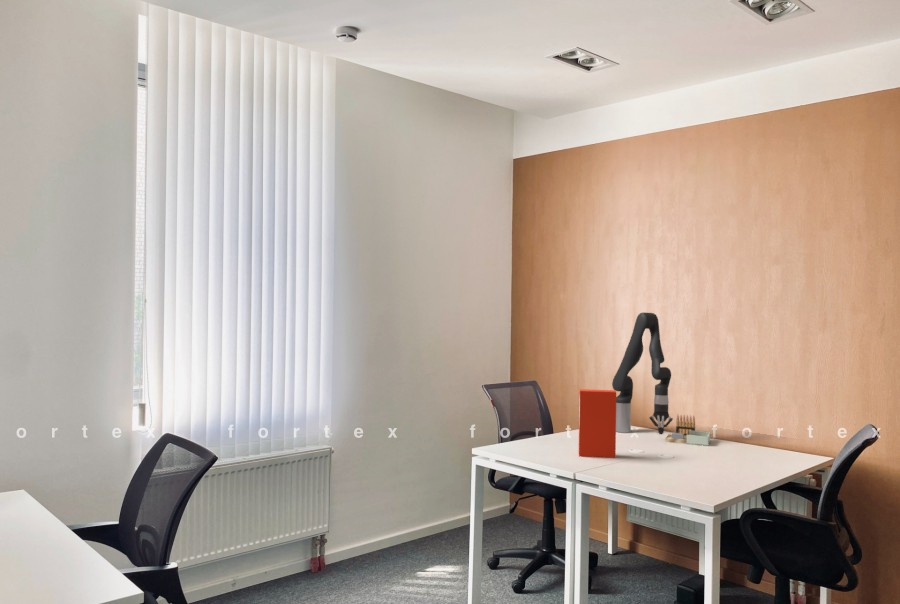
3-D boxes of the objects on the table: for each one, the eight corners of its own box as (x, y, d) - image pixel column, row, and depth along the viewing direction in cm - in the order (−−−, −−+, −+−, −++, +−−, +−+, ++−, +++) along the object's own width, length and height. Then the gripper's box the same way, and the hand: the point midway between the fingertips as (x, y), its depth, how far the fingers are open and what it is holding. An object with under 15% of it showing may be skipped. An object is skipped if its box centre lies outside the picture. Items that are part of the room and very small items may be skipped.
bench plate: (665, 441, 365) (665, 438, 365) (668, 437, 378) (668, 434, 378) (686, 443, 360) (686, 440, 360) (689, 439, 373) (689, 435, 373)
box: (686, 444, 359) (686, 434, 360) (689, 439, 374) (689, 430, 374) (708, 446, 355) (708, 436, 355) (710, 441, 369) (710, 432, 369)
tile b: (671, 438, 365) (671, 433, 365) (672, 436, 369) (672, 432, 369) (683, 439, 362) (683, 434, 362) (683, 437, 367) (683, 433, 367)
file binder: (615, 458, 320) (616, 392, 321) (579, 456, 323) (580, 390, 324) (614, 454, 328) (614, 390, 329) (578, 453, 331) (579, 389, 332)
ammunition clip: (695, 436, 385) (695, 415, 385) (695, 436, 383) (695, 415, 383) (676, 434, 389) (676, 414, 389) (675, 435, 387) (675, 414, 388)
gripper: (648, 403, 369) (647, 434, 369) (672, 404, 364) (672, 436, 363) (649, 401, 376) (649, 432, 376) (674, 403, 370) (674, 434, 370)
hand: (661, 434), depth 369 cm, fingers closed
